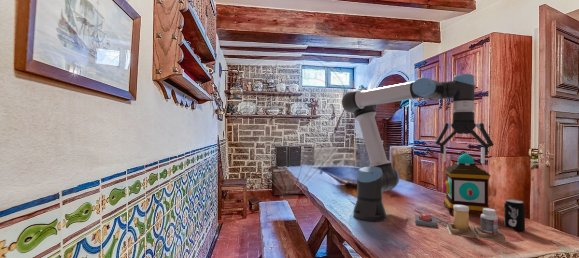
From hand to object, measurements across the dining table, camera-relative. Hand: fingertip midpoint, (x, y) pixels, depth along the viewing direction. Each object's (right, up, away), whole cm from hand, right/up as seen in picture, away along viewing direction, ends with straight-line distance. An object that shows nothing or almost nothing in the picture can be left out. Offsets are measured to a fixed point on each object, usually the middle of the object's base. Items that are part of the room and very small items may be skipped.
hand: (463, 162), depth 111 cm
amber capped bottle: (-4, -27, -5) cm, 28 cm away
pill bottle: (+4, -27, -9) cm, 29 cm away
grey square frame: (-13, -28, +5) cm, 31 cm away
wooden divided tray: (0, -28, -7) cm, 29 cm away
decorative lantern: (+18, -29, +25) cm, 42 cm away
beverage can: (+22, -29, +1) cm, 36 cm away
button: (-13, -27, +5) cm, 31 cm away
